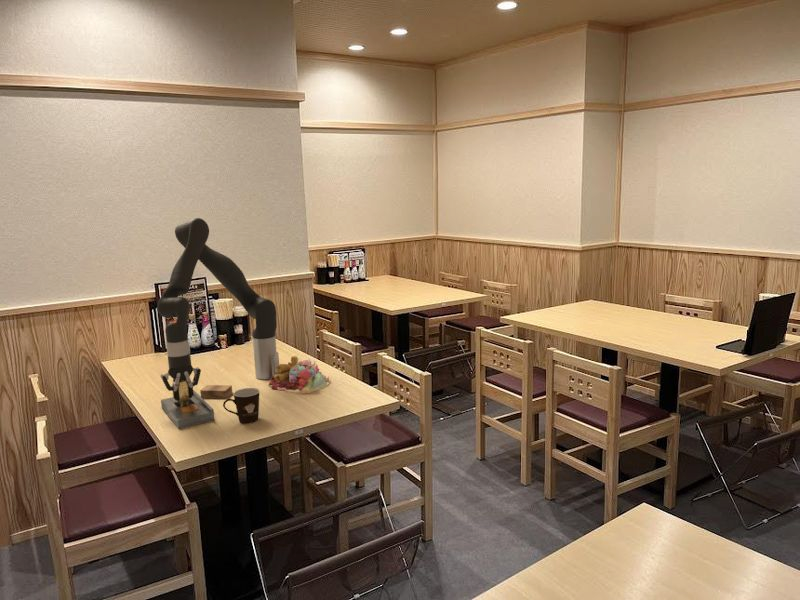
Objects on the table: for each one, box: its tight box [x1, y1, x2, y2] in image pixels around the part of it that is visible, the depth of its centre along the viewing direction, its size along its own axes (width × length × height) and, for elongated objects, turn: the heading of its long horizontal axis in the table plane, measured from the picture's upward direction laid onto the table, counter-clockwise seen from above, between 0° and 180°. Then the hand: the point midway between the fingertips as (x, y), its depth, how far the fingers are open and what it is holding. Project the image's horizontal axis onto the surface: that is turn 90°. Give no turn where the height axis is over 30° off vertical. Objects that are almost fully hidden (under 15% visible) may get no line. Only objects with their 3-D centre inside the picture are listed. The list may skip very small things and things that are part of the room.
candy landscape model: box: [267, 355, 331, 395], centre depth 242 cm, size 25×24×9 cm
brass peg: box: [177, 380, 190, 407], centre depth 215 cm, size 4×4×10 cm
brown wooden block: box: [200, 384, 233, 399], centre depth 231 cm, size 10×6×3 cm, turn 83°
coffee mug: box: [222, 387, 260, 425], centre depth 205 cm, size 12×9×10 cm
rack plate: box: [160, 389, 215, 430], centre depth 213 cm, size 24×12×4 cm, turn 34°
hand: (183, 398), depth 215 cm, fingers closed on brass peg, 4 cm apart
